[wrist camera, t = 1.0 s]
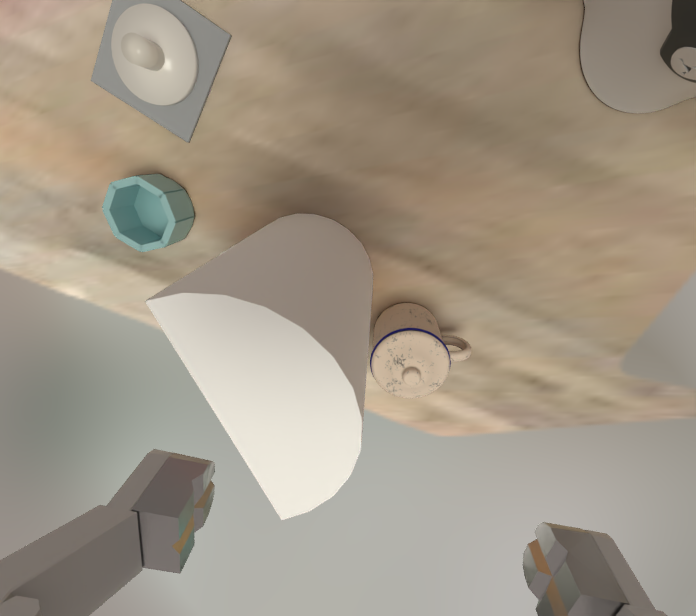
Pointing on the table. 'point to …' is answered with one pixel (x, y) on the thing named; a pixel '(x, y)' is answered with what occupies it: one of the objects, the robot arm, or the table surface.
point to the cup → (148, 211)
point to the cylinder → (281, 352)
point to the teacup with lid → (412, 351)
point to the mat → (210, 55)
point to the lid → (154, 55)
